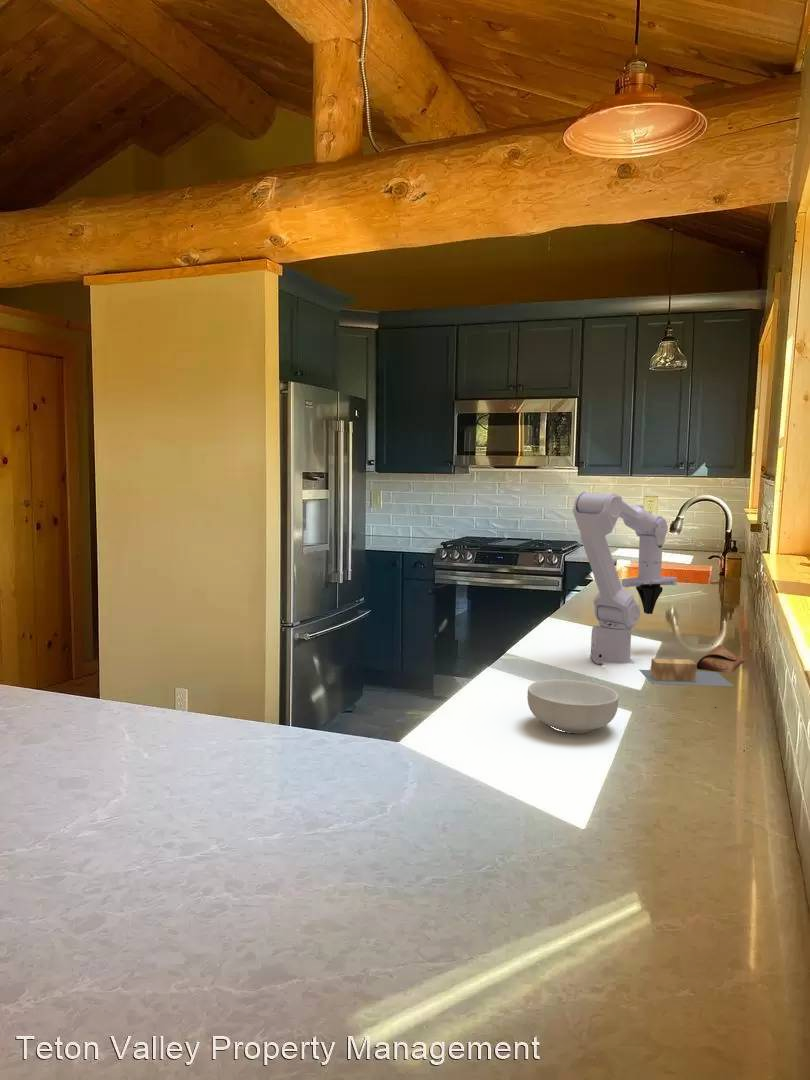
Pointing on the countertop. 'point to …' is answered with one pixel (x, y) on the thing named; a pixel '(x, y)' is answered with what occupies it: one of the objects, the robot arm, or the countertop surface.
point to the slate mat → (701, 679)
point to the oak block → (673, 670)
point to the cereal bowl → (572, 704)
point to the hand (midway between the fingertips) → (648, 613)
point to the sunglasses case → (720, 660)
